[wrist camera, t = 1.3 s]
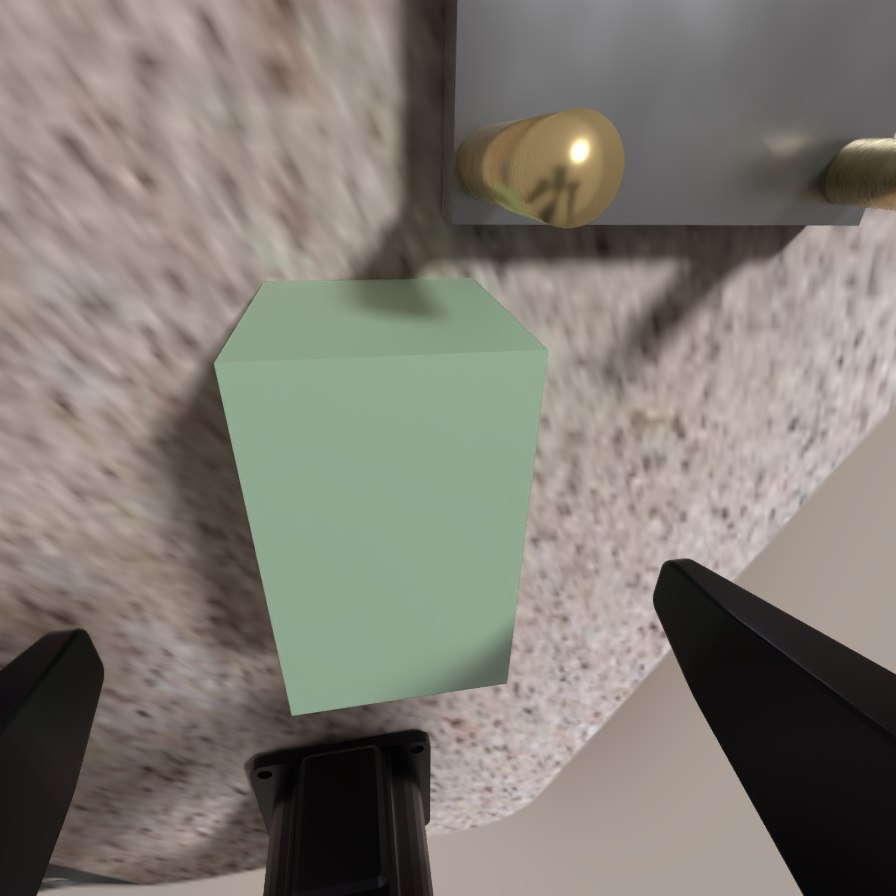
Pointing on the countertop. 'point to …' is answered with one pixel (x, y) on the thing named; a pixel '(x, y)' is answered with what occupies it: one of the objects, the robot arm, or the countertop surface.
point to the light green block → (385, 480)
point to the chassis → (668, 112)
